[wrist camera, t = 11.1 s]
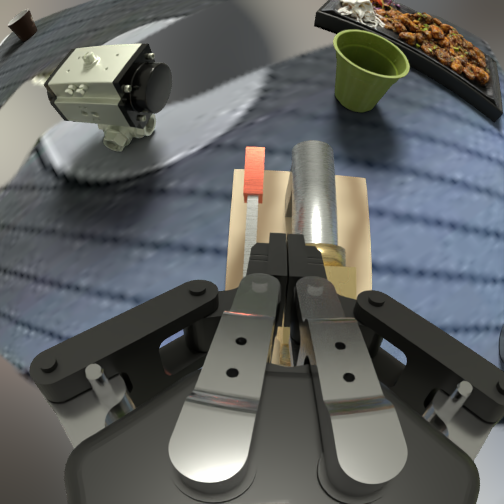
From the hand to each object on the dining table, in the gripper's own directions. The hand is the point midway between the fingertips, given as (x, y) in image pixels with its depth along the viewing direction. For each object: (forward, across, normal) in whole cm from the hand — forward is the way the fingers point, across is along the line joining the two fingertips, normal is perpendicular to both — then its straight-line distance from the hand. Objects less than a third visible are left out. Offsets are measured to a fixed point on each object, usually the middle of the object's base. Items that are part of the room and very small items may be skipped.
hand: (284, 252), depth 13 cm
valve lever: (+9, +2, +12) cm, 15 cm away
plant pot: (+41, -12, -9) cm, 44 cm away
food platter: (+58, -32, -27) cm, 72 cm away
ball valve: (+34, +24, -2) cm, 41 cm away
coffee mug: (+66, +82, -42) cm, 114 cm away
